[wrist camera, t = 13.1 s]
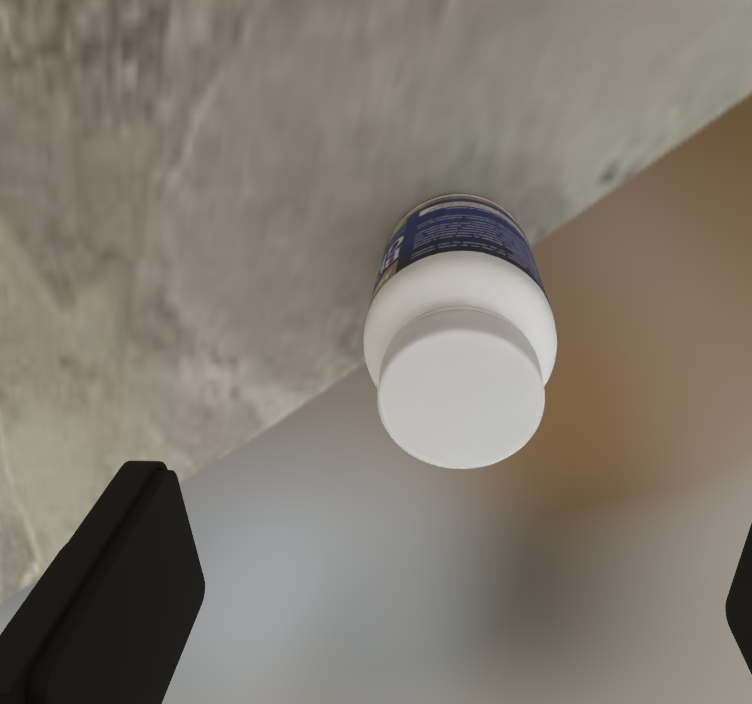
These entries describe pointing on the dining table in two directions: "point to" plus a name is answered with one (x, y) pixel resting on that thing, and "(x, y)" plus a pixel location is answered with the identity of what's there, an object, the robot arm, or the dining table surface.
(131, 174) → the dining table surface
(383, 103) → the dining table surface
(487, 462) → the pill bottle
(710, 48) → the dining table surface
